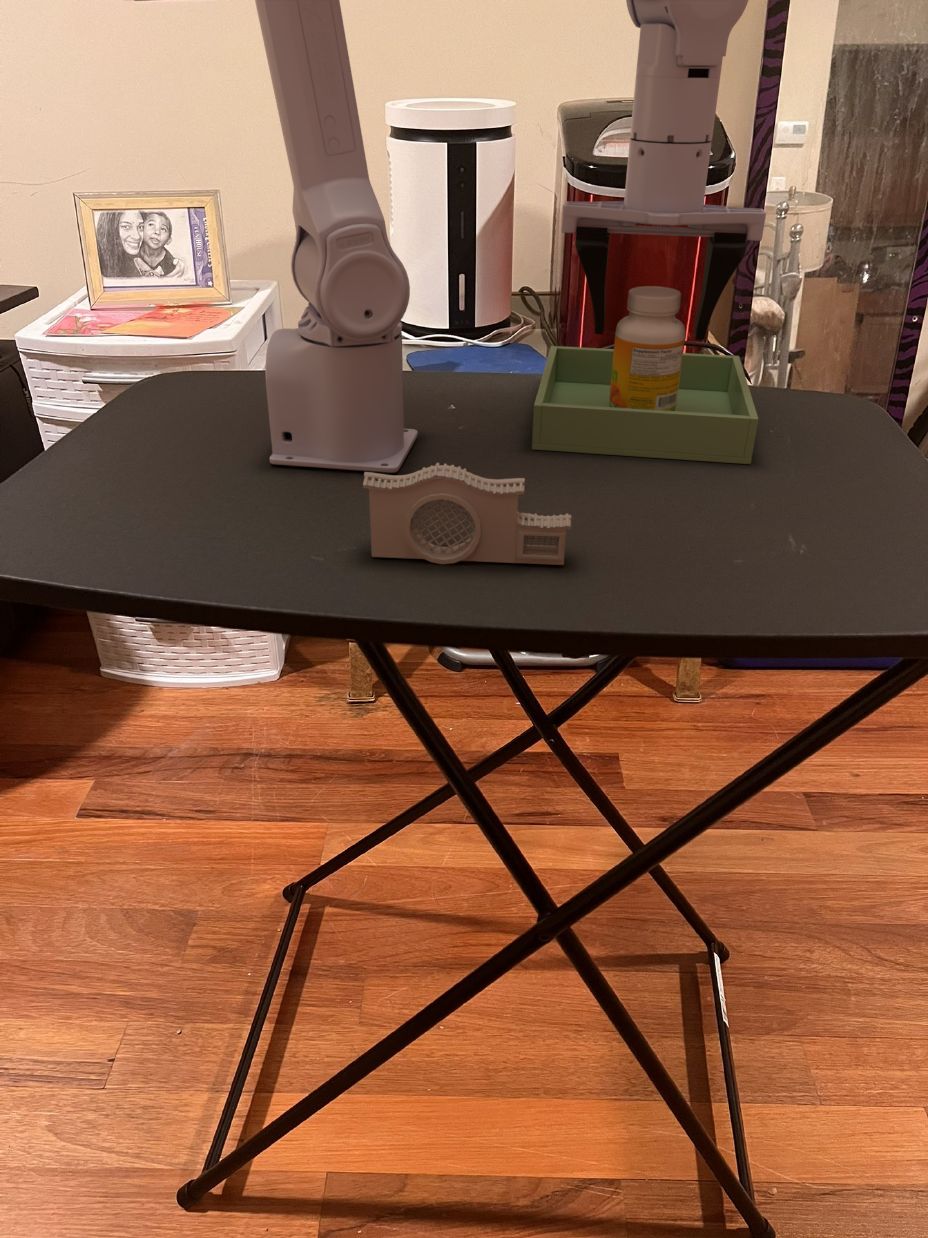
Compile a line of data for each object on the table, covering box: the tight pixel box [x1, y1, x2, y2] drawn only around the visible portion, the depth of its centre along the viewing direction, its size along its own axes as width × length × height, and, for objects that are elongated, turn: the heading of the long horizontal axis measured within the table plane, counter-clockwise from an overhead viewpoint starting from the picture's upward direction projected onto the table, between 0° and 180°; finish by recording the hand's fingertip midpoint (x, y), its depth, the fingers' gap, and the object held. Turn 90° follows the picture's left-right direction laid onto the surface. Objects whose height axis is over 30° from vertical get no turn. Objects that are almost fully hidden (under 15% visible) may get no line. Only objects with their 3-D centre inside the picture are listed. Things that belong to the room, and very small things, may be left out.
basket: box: [531, 345, 760, 465], centre depth 79 cm, size 16×16×4 cm
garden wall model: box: [362, 462, 572, 566], centre depth 57 cm, size 12×2×6 cm, turn 86°
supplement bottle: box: [609, 285, 686, 411], centre depth 77 cm, size 5×5×10 cm
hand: (648, 333), depth 76 cm, fingers open, 7 cm apart
